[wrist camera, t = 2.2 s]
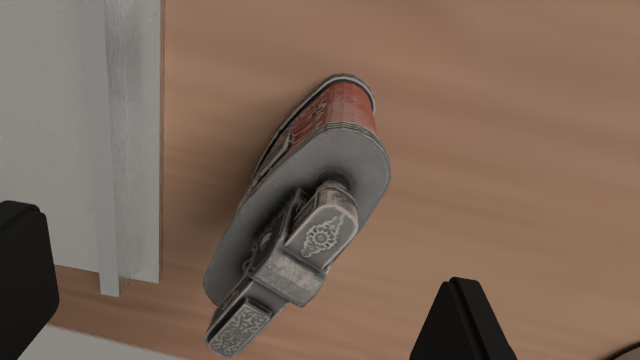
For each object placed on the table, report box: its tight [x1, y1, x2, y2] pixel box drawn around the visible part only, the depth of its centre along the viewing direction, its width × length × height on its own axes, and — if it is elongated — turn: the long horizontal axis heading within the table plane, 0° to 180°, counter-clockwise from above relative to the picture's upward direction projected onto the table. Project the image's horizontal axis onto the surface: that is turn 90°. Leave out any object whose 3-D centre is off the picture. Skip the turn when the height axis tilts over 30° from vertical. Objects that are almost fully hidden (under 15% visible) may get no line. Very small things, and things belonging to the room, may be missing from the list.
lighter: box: [203, 73, 391, 358], centre depth 14 cm, size 8×3×10 cm, turn 143°
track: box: [0, 0, 164, 297], centre depth 18 cm, size 12×18×2 cm, turn 169°
